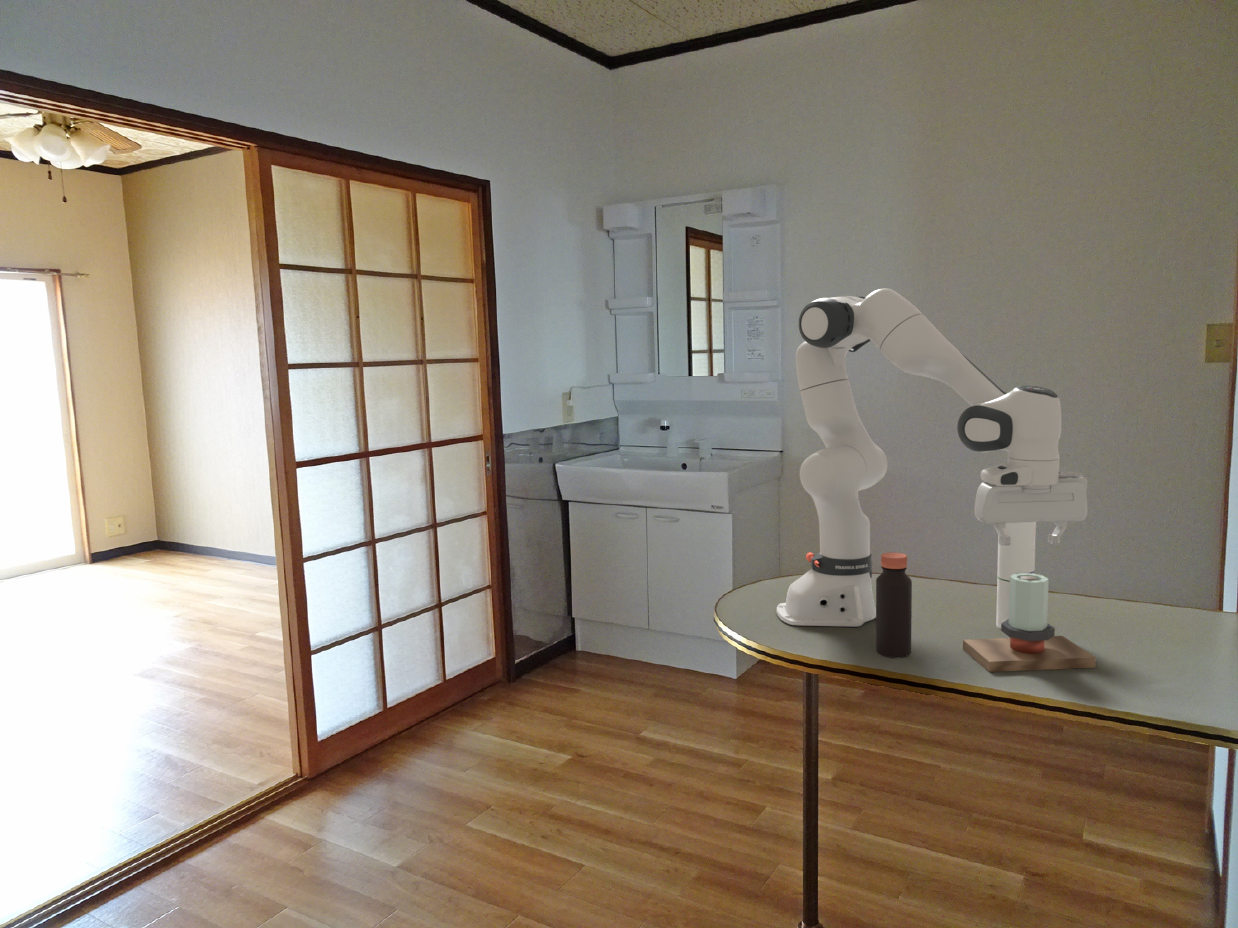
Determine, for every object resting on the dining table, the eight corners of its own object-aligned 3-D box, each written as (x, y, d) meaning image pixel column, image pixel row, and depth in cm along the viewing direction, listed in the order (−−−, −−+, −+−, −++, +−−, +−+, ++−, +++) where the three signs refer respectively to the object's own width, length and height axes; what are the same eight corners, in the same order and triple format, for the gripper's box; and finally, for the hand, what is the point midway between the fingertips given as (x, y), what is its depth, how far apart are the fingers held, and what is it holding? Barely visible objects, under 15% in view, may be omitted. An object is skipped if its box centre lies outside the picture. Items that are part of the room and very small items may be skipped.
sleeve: (1019, 631, 163) (1020, 582, 162) (1004, 620, 170) (1005, 573, 168) (1051, 630, 164) (1053, 581, 162) (1035, 619, 170) (1037, 572, 168)
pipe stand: (988, 671, 161) (990, 589, 159) (962, 649, 173) (964, 571, 171) (1095, 667, 162) (1098, 584, 159) (1061, 645, 173) (1064, 567, 171)
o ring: (1015, 641, 162) (1015, 633, 162) (995, 626, 171) (995, 619, 171) (1061, 639, 163) (1061, 631, 162) (1038, 624, 171) (1038, 617, 171)
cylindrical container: (1036, 632, 181) (1040, 515, 178) (1000, 631, 183) (1003, 515, 179) (1027, 621, 188) (1031, 509, 185) (992, 620, 190) (995, 509, 186)
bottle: (899, 644, 177) (900, 549, 174) (917, 656, 171) (918, 557, 168) (869, 648, 176) (869, 552, 173) (886, 659, 169) (887, 560, 166)
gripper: (1078, 468, 166) (1074, 538, 168) (972, 471, 165) (969, 541, 167) (1096, 474, 159) (1092, 546, 161) (986, 477, 159) (983, 549, 161)
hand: (1029, 544), depth 164 cm, fingers open, 8 cm apart
